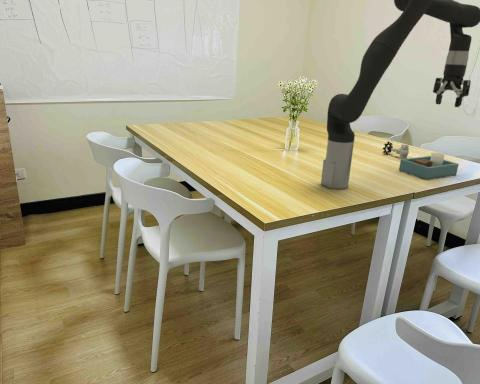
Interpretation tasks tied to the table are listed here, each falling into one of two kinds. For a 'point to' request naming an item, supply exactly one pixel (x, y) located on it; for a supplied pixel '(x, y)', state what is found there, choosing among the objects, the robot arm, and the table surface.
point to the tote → (428, 169)
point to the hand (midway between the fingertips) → (447, 105)
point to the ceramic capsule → (437, 159)
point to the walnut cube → (423, 162)
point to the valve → (397, 150)
